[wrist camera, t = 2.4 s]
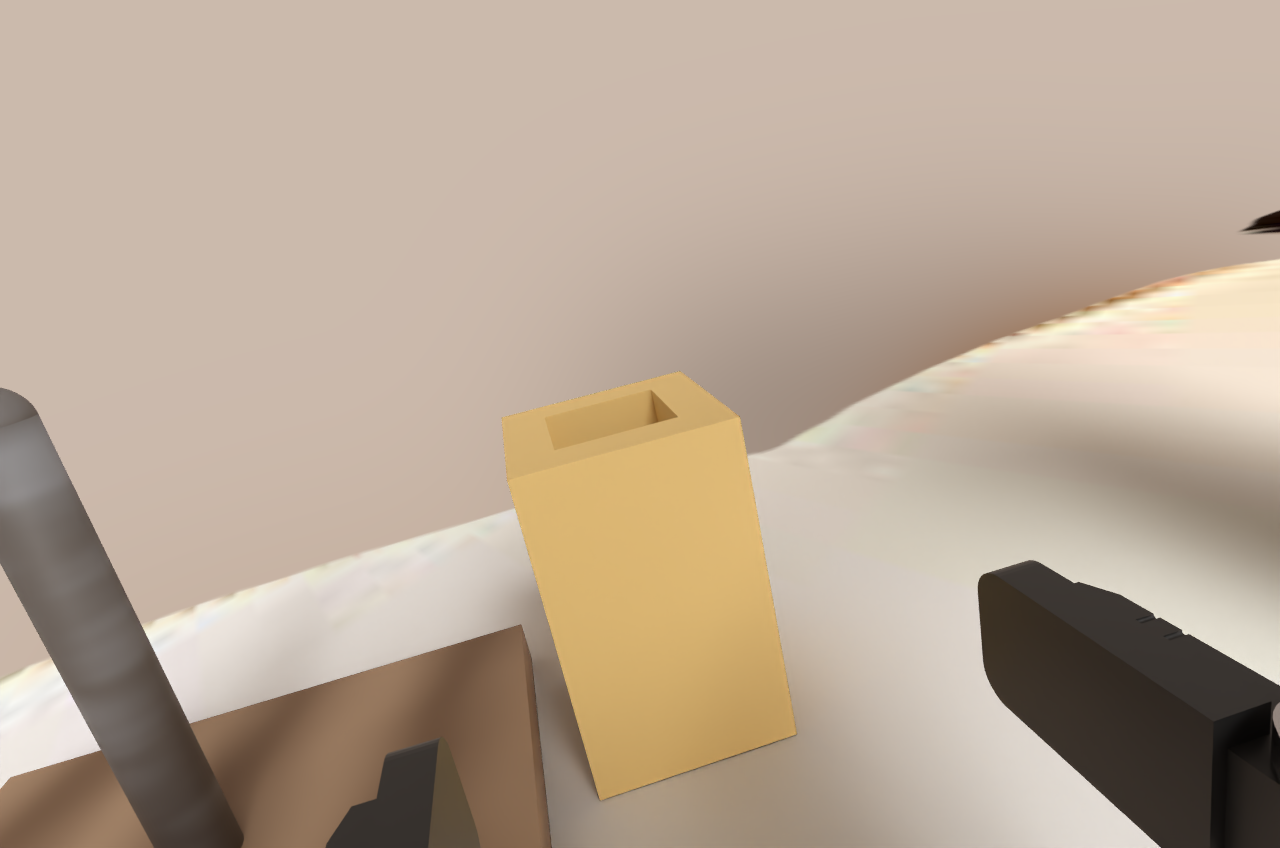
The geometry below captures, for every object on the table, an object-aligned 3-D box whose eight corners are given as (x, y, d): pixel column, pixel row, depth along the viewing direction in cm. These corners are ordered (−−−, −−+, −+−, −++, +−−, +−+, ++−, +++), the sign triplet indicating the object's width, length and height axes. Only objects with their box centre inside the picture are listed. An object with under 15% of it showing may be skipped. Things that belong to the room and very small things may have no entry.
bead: (731, 627, 27) (680, 370, 24) (797, 734, 22) (740, 416, 19) (575, 676, 26) (501, 417, 23) (600, 800, 21) (507, 480, 18)
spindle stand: (531, 657, 28) (414, 271, 24) (572, 1045, 15) (324, 335, 10) (30, 811, 26) (-206, 414, 21) (-451, 1435, 12) (-1347, 733, 8)
